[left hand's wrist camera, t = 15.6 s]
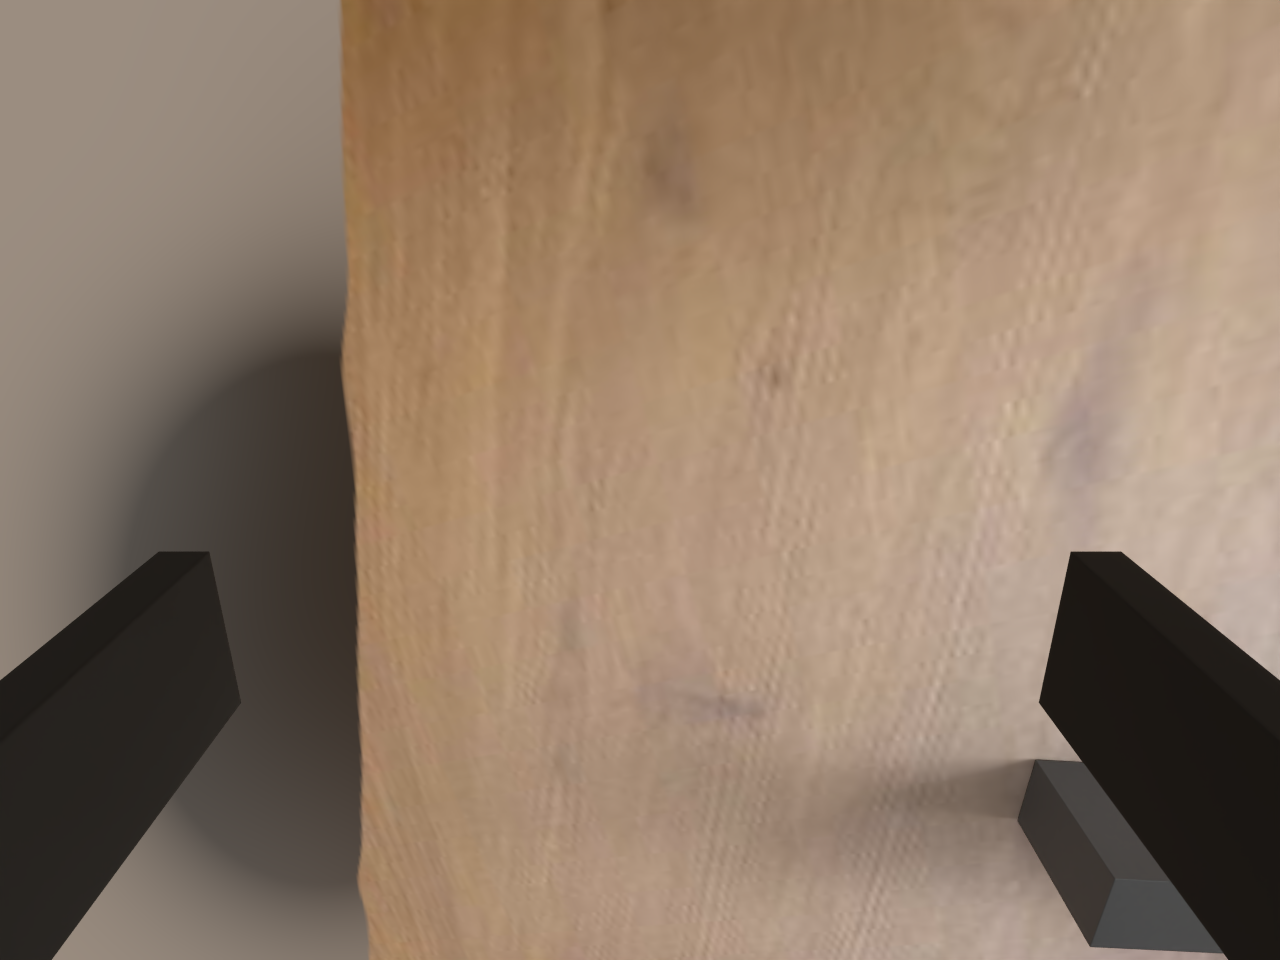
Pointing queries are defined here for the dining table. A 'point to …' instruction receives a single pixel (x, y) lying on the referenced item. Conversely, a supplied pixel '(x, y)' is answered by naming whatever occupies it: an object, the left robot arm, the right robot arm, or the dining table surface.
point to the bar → (1104, 865)
